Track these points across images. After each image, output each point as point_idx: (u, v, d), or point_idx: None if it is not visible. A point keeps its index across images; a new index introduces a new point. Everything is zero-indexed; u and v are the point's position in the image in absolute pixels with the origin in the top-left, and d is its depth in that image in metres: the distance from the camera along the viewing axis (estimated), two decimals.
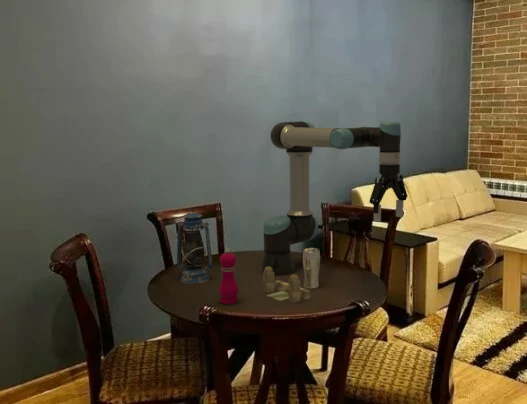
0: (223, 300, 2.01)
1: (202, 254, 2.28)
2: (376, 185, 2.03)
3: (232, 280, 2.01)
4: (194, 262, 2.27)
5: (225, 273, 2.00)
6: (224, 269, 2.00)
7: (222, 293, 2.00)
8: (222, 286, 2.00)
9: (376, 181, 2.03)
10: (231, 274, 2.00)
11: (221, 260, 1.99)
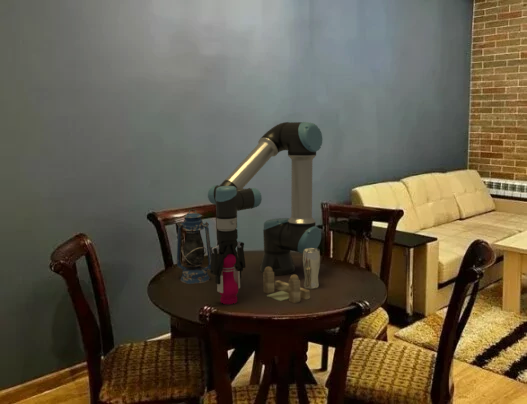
0: (223, 300, 2.01)
1: (202, 254, 2.28)
2: (212, 255, 1.97)
3: (232, 280, 2.01)
4: (194, 262, 2.27)
5: (225, 273, 2.00)
6: (224, 269, 2.00)
7: (222, 293, 2.00)
8: None
9: (212, 251, 1.97)
10: (231, 274, 2.00)
11: None
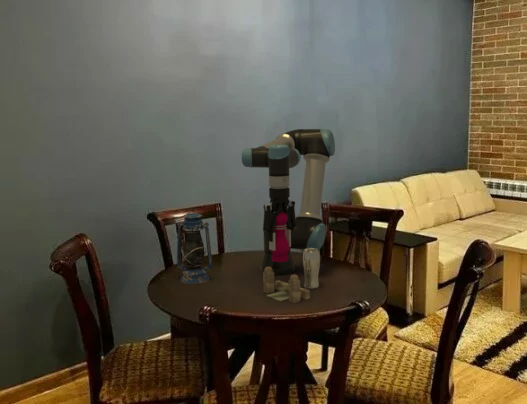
0: (275, 258, 2.03)
1: (202, 254, 2.28)
2: (265, 213, 1.99)
3: (284, 238, 2.03)
4: (194, 262, 2.27)
5: (277, 230, 2.02)
6: (276, 227, 2.02)
7: (274, 251, 2.03)
8: None
9: (264, 209, 1.99)
10: (283, 232, 2.03)
11: None
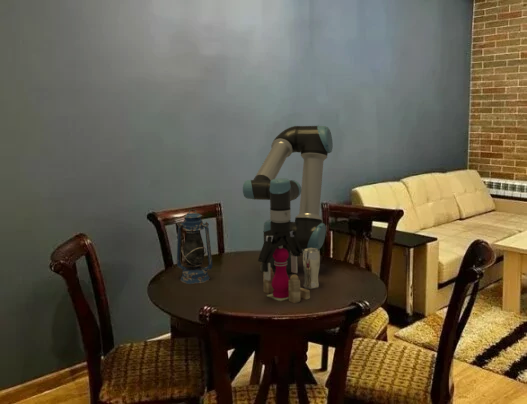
0: (276, 294, 2.06)
1: (202, 254, 2.28)
2: (265, 243, 2.00)
3: (285, 274, 2.05)
4: (194, 262, 2.27)
5: (279, 267, 2.05)
6: (277, 264, 2.04)
7: (275, 287, 2.05)
8: (275, 280, 2.05)
9: (265, 239, 2.01)
10: (284, 268, 2.05)
11: (274, 255, 2.04)
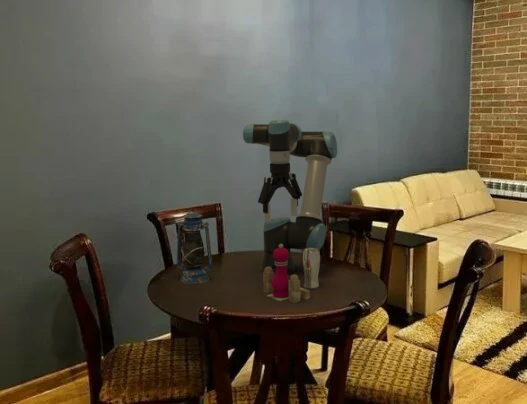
0: (276, 294, 2.06)
1: (202, 254, 2.28)
2: (265, 185, 2.00)
3: (285, 274, 2.05)
4: (194, 262, 2.27)
5: (279, 267, 2.05)
6: (278, 263, 2.04)
7: (275, 287, 2.05)
8: (275, 280, 2.05)
9: (265, 180, 2.00)
10: (284, 268, 2.05)
11: (275, 254, 2.04)
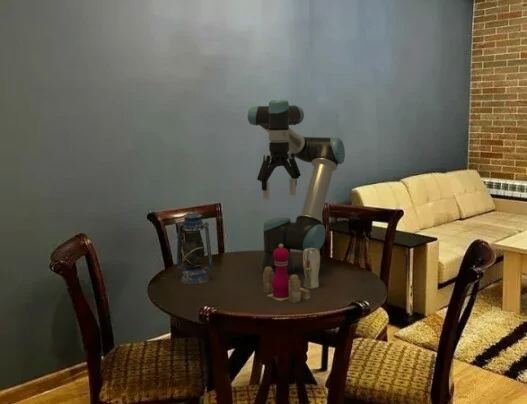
0: (276, 294, 2.06)
1: (202, 254, 2.28)
2: (264, 162, 2.05)
3: (285, 274, 2.05)
4: (194, 262, 2.27)
5: (279, 267, 2.05)
6: (278, 263, 2.04)
7: (275, 287, 2.05)
8: (275, 280, 2.05)
9: (264, 159, 2.05)
10: (284, 268, 2.05)
11: (275, 254, 2.04)
